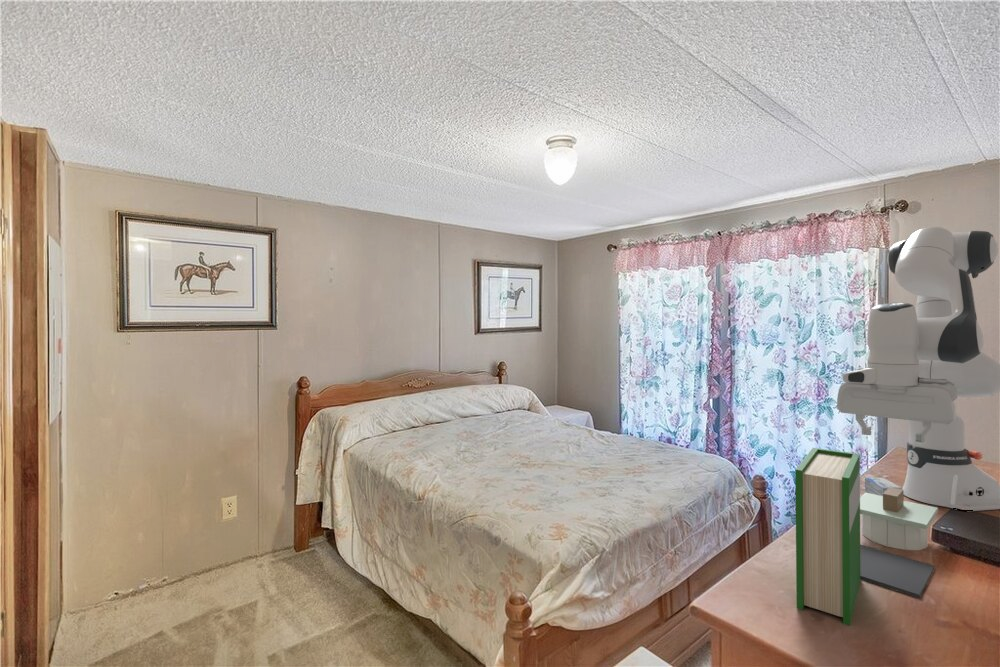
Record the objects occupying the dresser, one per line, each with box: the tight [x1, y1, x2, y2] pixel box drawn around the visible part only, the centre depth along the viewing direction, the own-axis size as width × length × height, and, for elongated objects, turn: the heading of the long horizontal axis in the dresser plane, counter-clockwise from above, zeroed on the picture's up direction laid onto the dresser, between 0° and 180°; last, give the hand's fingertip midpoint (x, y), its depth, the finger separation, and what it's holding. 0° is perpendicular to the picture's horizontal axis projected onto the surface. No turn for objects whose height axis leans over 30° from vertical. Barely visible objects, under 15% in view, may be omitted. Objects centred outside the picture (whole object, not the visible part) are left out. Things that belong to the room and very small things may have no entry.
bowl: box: [861, 514, 928, 551], centre depth 106 cm, size 11×11×6 cm
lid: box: [860, 487, 939, 531], centre depth 106 cm, size 13×13×4 cm
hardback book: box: [794, 447, 862, 627], centre depth 85 cm, size 18×7×24 cm, turn 138°
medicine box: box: [864, 476, 903, 496], centre depth 117 cm, size 8×4×9 cm, turn 168°
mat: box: [860, 543, 936, 599], centre depth 94 cm, size 15×15×1 cm
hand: (892, 438), depth 105 cm, fingers open, 8 cm apart
